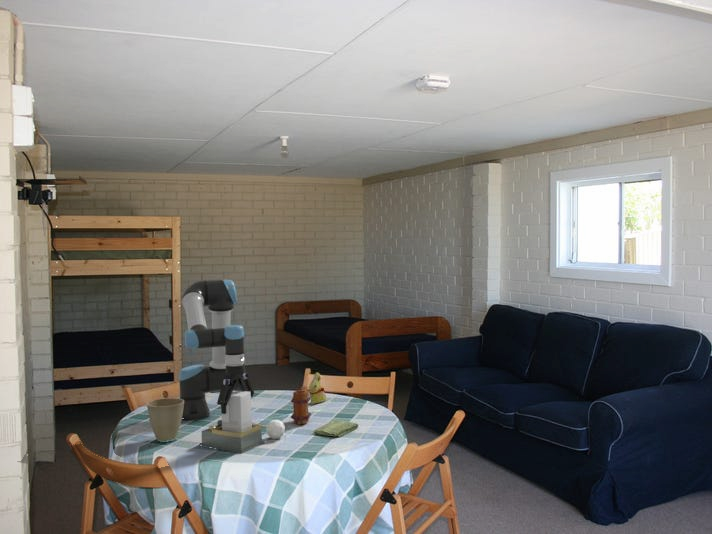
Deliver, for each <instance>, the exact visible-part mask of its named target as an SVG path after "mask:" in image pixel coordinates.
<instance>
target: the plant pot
mask: <svg viewBox="0 0 712 534" xmlns="http://www.w3.org/2000/svg"><path fill="white" fill-rule="evenodd" d="M146 407H147V408H146V409H147V412H148V417H149V421H150V425H151V428H152V431H153V434H154V437H155V440H156V441H157V440H162V441H167V440H172V439H175V438H176V439H177V436H178V433H179V430H180V428H181V427H180V426H181V424H182V423H181V422H182V420H183V419H182V414H183V407H184V400H182V399H180V398H177V397H176V398H174V397H167V398H158V399H153V400H150V401H148V402H146Z"/></svg>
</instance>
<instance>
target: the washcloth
mask: <svg viewBox="0 0 712 534" xmlns="http://www.w3.org/2000/svg"><path fill="white" fill-rule="evenodd" d="M358 428H359V424H358V423H356V422H353V421H352V422H351V421H346V420H345V421H344V420H343V419H333V420H332V421H329V422H327V423H325V424H323V425H322V426H319V427H316V428H315V429H314V431H313V433H312V434H315V435H320V436H328V437H334V438H335V437H336V438H342V437H344V436H346V435H347V434H349V433H352V432H353V431H355V430H357V429H358Z"/></svg>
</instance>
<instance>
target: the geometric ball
mask: <svg viewBox="0 0 712 534" xmlns="http://www.w3.org/2000/svg"><path fill="white" fill-rule="evenodd" d="M265 430H266V431H265V433H266V435H267V437H269V438H270V439H273V440H278V439H280V438H282V437H283V436H284V434H285V430H286V426H285V424H284V423H283V422H282V421H281V420H280V419H272V420H270V421H269V422H268V423H267V424H266V427H265Z"/></svg>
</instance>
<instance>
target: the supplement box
mask: <svg viewBox="0 0 712 534" xmlns="http://www.w3.org/2000/svg"><path fill="white" fill-rule="evenodd" d="M227 405H229V422H223V421H222V430H223V431H229V432H236V433H241V432H243V431H246V430H248V429H251V428H252V423H253V421H252V420H253V418H252V397H251V392H248V391H242V390H234V391H233V392H232V394H231V396H230V399H229V401H228V403H227Z"/></svg>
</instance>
